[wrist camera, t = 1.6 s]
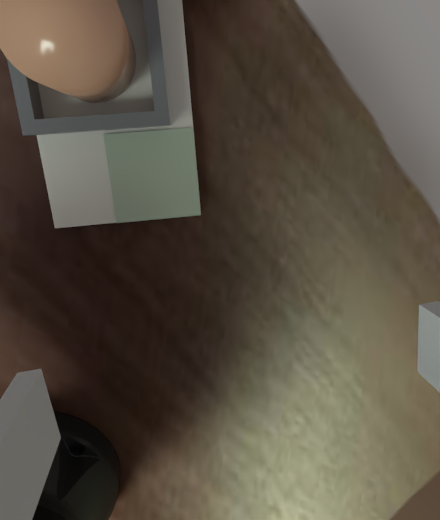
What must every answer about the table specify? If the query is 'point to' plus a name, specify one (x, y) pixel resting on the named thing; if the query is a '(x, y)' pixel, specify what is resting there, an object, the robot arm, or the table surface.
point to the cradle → (37, 125)
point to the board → (126, 141)
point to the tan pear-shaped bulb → (69, 45)
